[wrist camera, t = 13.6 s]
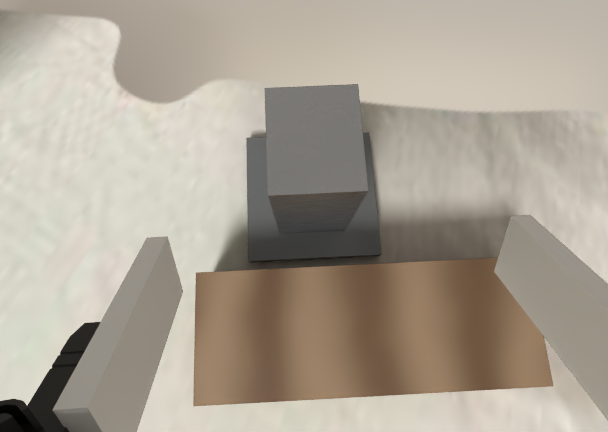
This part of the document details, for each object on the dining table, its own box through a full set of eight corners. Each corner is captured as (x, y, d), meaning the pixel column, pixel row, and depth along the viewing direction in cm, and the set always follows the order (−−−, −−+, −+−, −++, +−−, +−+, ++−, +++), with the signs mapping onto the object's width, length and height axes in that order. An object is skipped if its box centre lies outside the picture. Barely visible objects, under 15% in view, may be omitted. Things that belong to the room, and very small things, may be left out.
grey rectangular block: (345, 230, 28) (368, 191, 18) (279, 233, 28) (267, 195, 18) (339, 157, 29) (357, 84, 20) (277, 160, 29) (264, 88, 20)
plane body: (209, 390, 26) (193, 406, 22) (210, 277, 28) (195, 272, 24) (516, 374, 26) (553, 386, 22) (496, 262, 28) (528, 256, 24)
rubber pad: (249, 262, 28) (248, 261, 27) (248, 142, 30) (246, 138, 30) (379, 255, 28) (381, 254, 27) (367, 137, 31) (369, 132, 30)
